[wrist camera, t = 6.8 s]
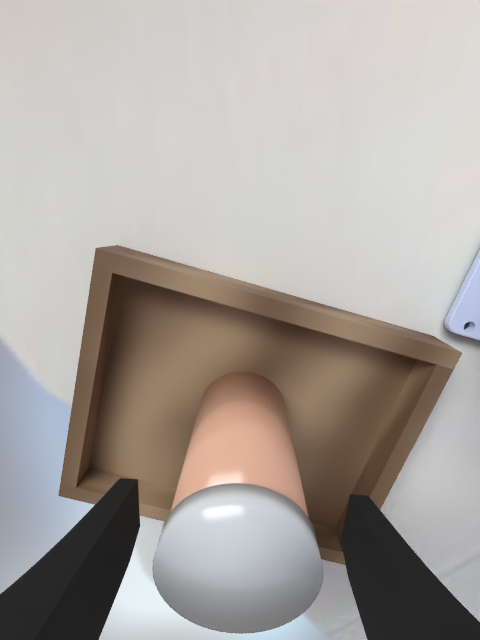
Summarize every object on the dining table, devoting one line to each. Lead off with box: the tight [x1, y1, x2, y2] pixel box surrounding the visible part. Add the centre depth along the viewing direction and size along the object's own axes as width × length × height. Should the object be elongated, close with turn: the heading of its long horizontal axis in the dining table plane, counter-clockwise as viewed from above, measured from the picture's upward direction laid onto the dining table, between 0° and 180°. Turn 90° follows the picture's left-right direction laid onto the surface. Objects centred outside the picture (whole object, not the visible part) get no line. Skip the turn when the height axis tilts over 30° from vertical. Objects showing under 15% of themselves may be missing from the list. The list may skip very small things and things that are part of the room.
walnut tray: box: [59, 245, 462, 565], centre depth 16 cm, size 16×13×2 cm
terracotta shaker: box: [153, 372, 323, 633], centre depth 12 cm, size 5×5×8 cm
